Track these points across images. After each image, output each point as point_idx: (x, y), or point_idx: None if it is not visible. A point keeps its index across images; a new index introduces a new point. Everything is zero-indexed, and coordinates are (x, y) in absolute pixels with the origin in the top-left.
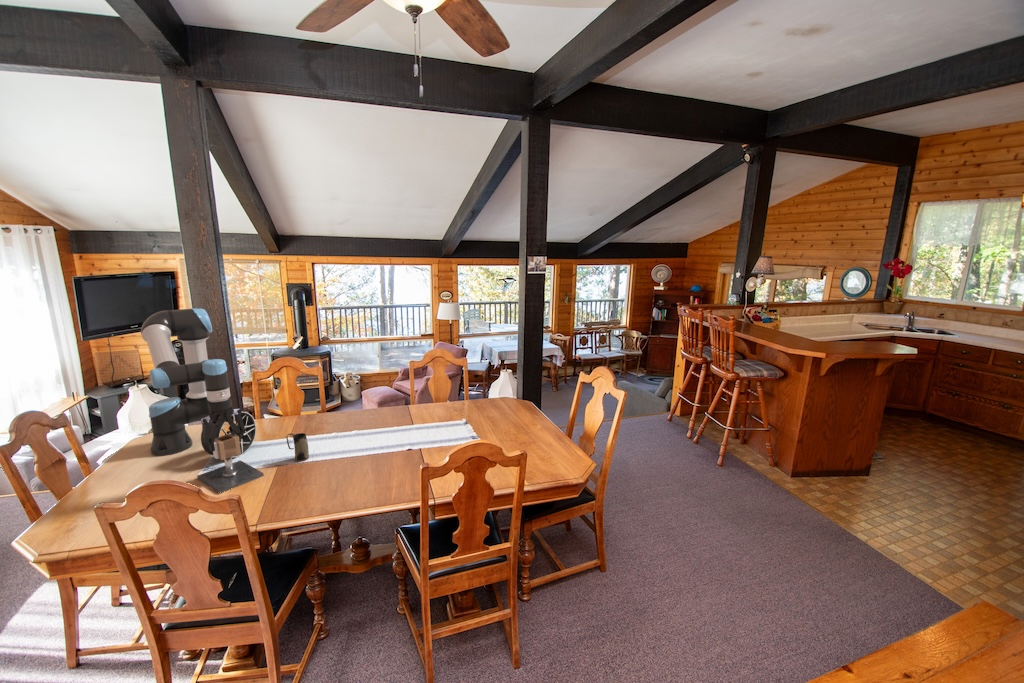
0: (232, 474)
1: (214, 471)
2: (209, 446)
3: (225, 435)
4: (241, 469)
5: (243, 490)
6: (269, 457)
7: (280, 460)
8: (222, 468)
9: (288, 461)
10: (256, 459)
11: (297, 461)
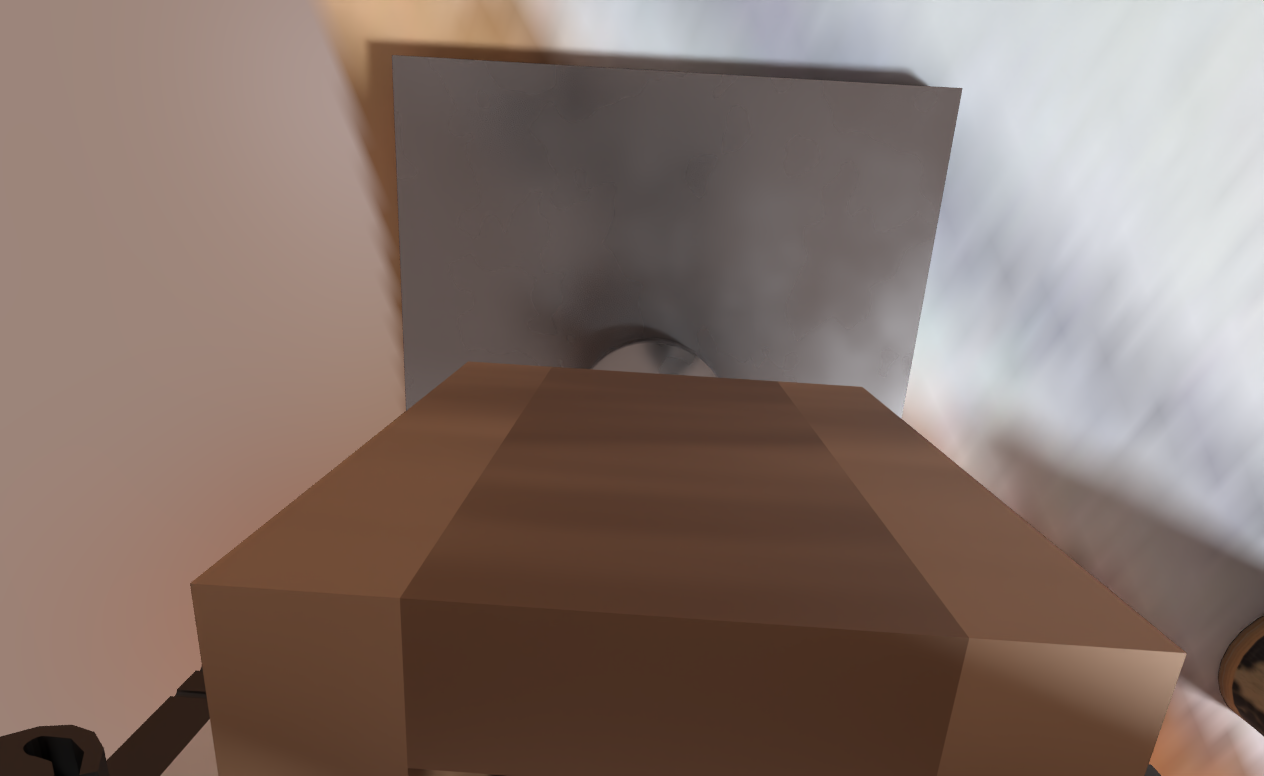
0: None
1: (584, 134)
2: (150, 730)
3: (863, 690)
4: None
5: None
6: (1212, 292)
7: (1186, 495)
8: (686, 139)
9: (1194, 595)
10: (1104, 191)
11: (1222, 688)
